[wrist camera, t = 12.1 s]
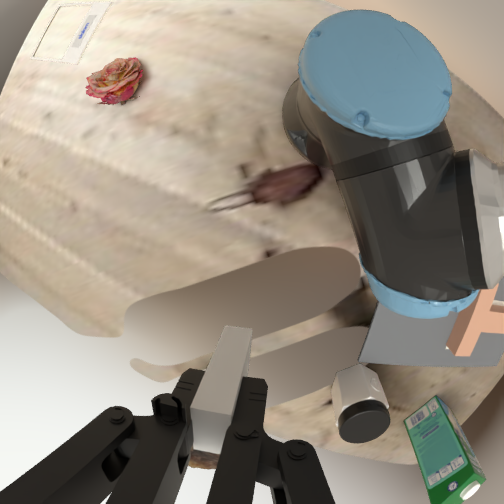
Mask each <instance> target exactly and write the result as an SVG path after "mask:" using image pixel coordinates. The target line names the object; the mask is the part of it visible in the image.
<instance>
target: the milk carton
mask: <svg viewBox="0 0 504 504" xmlns="http://www.w3.org/2000/svg"><path fill="white" fill-rule="evenodd" d="M404 424H405V427H406V429H407V432H408V435H409V438H410V440H411V443H412V446H413V449H414V452H415V455H416V458H417V461H418V464H419V467H420V470H421V473H422V476H423V479H424V482H425V485H426V489H427V492H428V496H429V499H430V503H431V504H461V503H462V502H464V501H465V500H466V499H467V498H469V497H470V496H472V495H473V494H474V493H475V492H476V491H477V490H478V488H479V487H480V485H481V484H482V483H483V482H484V481H485V480H486V478H485V476H484V473H483V471H482V469H481V467H480V465H479V463H478V460H477V458H476V457H475V454H474V452H473V450H472V448H471V446H470V444H469V442H468V440H467V438H466V436H465V435H464V433H463V431H462V429H461V427H460V425H459V423H458V421H457V419H456V418H455V416H454V414H453V412H452V410H451V409H450V408H449V407H448V406H447V405H446V404H445V403H444V402H443V401H441V400H440V399H439V398H438V397H437V396H435V397H433V398H432V399H431V400H430V401H429V402H427V403H426V404H425V405H424V406H422V407H421V408H420V409H419V410H417V411H416V412H415V413H413V414H412V415H411V416H409V417H408V418H407V419H405V420H404Z"/></svg>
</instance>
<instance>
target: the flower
mask: <svg viewBox="0 0 504 504" xmlns="http://www.w3.org/2000/svg"><path fill="white" fill-rule="evenodd" d="M140 65H141V64H140V62H139V61H138V59H137V58H128V59H122V58H117V59H115V61H113V62H111V63H109V64H108V65H106V66H105V67H104V69H103V70H101V71H98V72H95V73H92V74H93V75H91V76H90V77H87V80H88V83H89V85H88V86H87V87H86V88H87V89H88V90H86V94H88V95H89V96H92V95H93V97H96V98H101V100H102V101H103V102H107V103H103V102H101V103H97V104H108V105H110V104H113V105H114V104H116V103H118V102H121V105H123V104H125V100H133V99H135V97H134V96H132V95H133V94H134V92H135V91H136V89H137V87H138V85H139V84H140V83H141V82H142V81H141V82H139V80H140V78H141V77H142V75H143V74H142V71H143V70H142V69H141V70H140V71H139V68H140ZM94 74H95V75H94ZM138 82H139V83H138ZM139 97H140V96H139ZM136 98H137V97H136Z"/></svg>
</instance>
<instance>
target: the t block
mask: <svg viewBox="0 0 504 504" xmlns="http://www.w3.org/2000/svg"><path fill="white" fill-rule="evenodd" d="M498 286H499V283H498V284H497V285H496V286H495V287H494V288H493V289H481V290H479V292H478V295H477V297H476V298H475V300H474V301H473V302H472V303H471V304H470V305H469V306H468V307H467V308H465V309H463V310H462V311H460V312H459V314H458V317H457V319H456V322H455V324H454V327H453V329H452V332H451V334H450V336H449V339H448V341H447V343H446V346H447V347H448V348H449V349H450V351H451V352H452V353H453V355H454V356H470V355H471V353H472V351H473V349H474V347H475V344H476V342H477V340H478V338H479V335H480V333H481V332H486V333H501V334H504V306H498V305H492V303H493V300H494V297H495V295H496V292H497V289H498Z"/></svg>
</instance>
